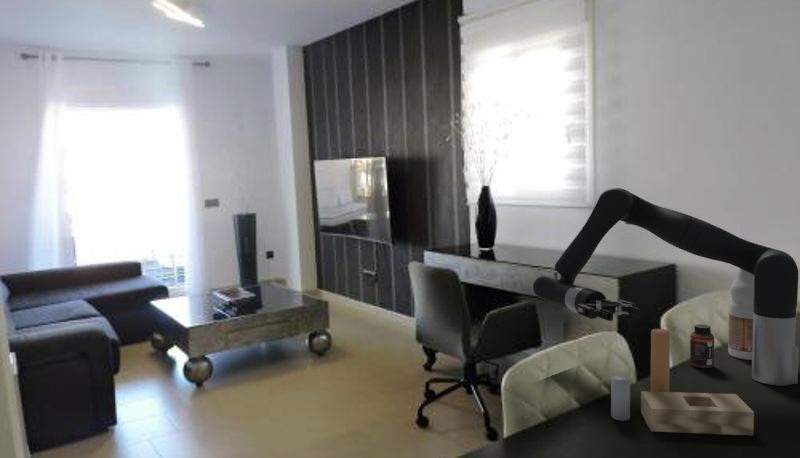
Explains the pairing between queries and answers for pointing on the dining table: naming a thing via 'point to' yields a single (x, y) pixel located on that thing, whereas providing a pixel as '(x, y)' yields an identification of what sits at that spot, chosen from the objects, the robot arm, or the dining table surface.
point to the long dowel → (660, 360)
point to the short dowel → (620, 397)
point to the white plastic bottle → (741, 316)
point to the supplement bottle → (702, 347)
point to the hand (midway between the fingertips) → (626, 315)
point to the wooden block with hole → (696, 413)
